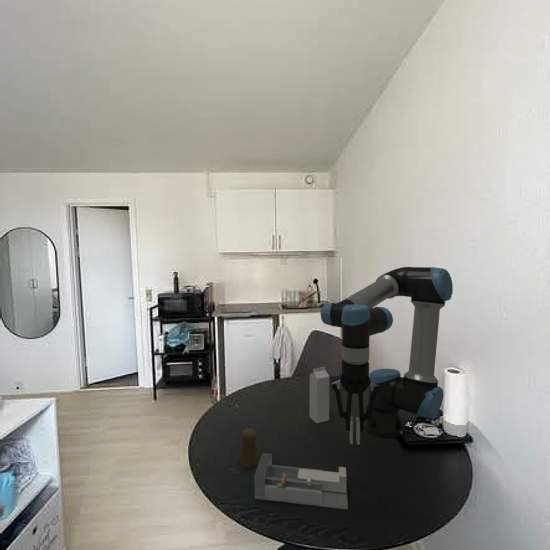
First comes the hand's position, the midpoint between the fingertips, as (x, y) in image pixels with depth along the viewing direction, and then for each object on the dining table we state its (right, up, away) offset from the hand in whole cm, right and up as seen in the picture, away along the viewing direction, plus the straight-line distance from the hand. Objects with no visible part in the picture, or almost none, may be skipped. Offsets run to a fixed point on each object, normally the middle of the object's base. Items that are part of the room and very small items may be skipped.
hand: (354, 441), depth 98 cm
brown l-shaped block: (-21, -15, 0) cm, 26 cm away
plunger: (-9, -15, +3) cm, 18 cm away
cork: (-31, -16, +17) cm, 39 cm away
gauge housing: (-15, -16, +4) cm, 22 cm away
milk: (-4, -13, +47) cm, 49 cm away
